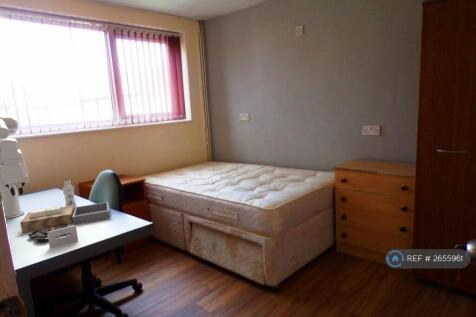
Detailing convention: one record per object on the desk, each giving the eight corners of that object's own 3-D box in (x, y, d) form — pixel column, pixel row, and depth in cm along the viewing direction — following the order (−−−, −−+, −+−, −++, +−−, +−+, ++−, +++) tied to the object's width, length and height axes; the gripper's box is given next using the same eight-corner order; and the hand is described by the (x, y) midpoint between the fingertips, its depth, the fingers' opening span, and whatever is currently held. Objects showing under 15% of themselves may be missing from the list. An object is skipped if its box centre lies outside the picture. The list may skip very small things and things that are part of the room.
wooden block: (22, 233, 172) (20, 222, 172) (30, 222, 191) (28, 212, 190) (72, 224, 181) (70, 214, 180) (75, 214, 200) (74, 205, 199)
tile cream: (30, 217, 179) (29, 213, 178) (33, 214, 185) (32, 210, 185) (45, 215, 181) (44, 211, 181) (47, 212, 188) (46, 207, 187)
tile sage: (46, 215, 182) (45, 210, 181) (48, 211, 188) (47, 207, 188) (60, 213, 184) (59, 208, 184) (61, 209, 190) (61, 205, 190)
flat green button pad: (27, 238, 165) (25, 229, 165) (64, 227, 179) (62, 219, 178) (40, 246, 154) (38, 236, 153) (78, 233, 167) (77, 224, 167)
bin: (73, 224, 180) (72, 217, 180) (76, 214, 201) (75, 207, 200) (109, 218, 187) (108, 210, 187) (109, 208, 208) (108, 201, 207)
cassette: (77, 239, 157) (75, 224, 156) (78, 241, 156) (76, 225, 155) (49, 247, 151) (46, 231, 149) (50, 248, 149) (47, 232, 148)
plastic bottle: (66, 213, 204) (61, 182, 201) (66, 210, 210) (61, 180, 207) (77, 211, 207) (72, 180, 204) (77, 208, 213) (72, 178, 210)
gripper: (-9, 164, 169) (-3, 199, 172) (27, 161, 175) (33, 194, 178) (-5, 163, 176) (1, 195, 179) (30, 159, 182) (35, 191, 185)
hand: (17, 194), depth 178 cm, fingers open, 2 cm apart
